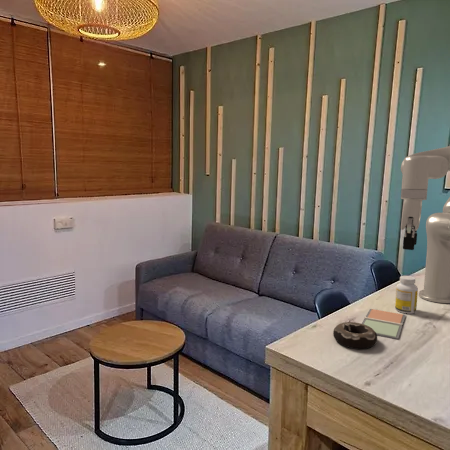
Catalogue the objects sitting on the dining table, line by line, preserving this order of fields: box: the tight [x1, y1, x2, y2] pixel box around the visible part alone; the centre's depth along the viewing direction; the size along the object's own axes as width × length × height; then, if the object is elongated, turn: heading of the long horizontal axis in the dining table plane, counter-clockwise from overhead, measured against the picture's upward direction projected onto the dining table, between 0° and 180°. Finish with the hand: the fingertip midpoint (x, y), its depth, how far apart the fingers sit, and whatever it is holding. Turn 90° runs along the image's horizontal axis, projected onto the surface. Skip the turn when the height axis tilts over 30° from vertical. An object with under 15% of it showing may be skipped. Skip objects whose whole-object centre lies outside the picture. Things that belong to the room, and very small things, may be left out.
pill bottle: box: [394, 275, 419, 315], centre depth 131 cm, size 6×6×12 cm
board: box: [361, 308, 406, 340], centre depth 122 cm, size 20×11×1 cm, turn 150°
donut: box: [332, 321, 378, 350], centre depth 109 cm, size 12×12×4 cm
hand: (409, 246), depth 129 cm, fingers open, 9 cm apart
